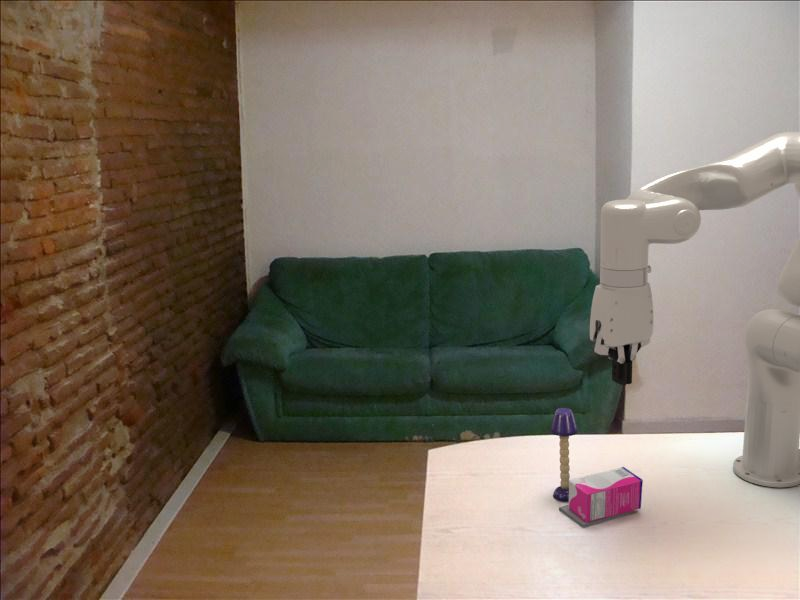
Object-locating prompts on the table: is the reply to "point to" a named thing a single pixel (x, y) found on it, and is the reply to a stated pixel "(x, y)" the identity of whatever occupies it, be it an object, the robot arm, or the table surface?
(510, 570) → the table surface
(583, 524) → the mat
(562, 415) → the toy lamp
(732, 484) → the table surface
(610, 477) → the supplement box
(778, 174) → the robot arm
